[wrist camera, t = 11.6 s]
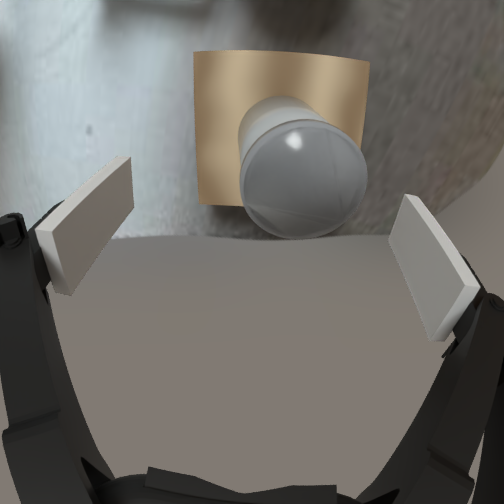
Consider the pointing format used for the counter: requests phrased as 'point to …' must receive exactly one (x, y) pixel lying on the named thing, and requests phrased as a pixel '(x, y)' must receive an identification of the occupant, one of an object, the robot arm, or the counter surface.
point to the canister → (297, 169)
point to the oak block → (256, 89)
